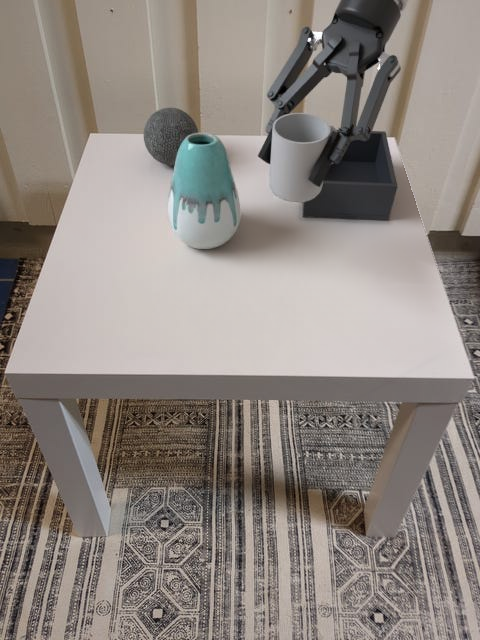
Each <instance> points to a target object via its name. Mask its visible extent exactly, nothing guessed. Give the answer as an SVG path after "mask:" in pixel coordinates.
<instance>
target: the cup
mask: <svg viewBox="0 0 480 640" xmlns="http://www.w3.org/2000/svg"><path fill="white" fill-rule="evenodd" d="M337 130H338V129H337V128H335V126H334V125H330V124H329V122H327V120H326V119H324V118H322V117H321V116H318V115H316V114H313V113H306V112H290V113H289V114H286V115H283V116H281V117H279V118H278V119H276V120H275V122H274V123H273V129H272V145H271V161H270V164H269V180H268V183H269V189H270V191H271V193H273V195H274V196H276V197H277V198H279V199H280V200H283V201H285V202H289V203H302V202H305V201H309V200H311V199H313V198H315V197H316V196H317V195H318V194H319V193H320V191H321V189H322V185H323V182H322V184H321V186H320V187H318V186H316V185H314V184H313V183H312V182H311V181H309V180H308V178H309V176H310V174H311V173H312V171H313V169H314V167H315V165H316V163H317V161H318V159H319V157H320V155H321V153H322V151H323V149H324V147H325V145H326V143H327V141H328V139H329V137H330V135H331V133H332V132H333V131H335V132H337ZM332 164H333V162H332ZM332 164H331V165H332Z"/></svg>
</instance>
